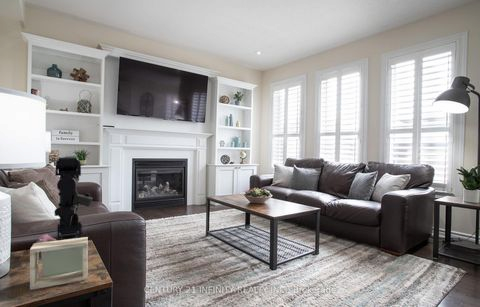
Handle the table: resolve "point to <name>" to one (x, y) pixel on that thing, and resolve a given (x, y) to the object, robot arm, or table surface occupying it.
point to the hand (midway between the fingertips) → (68, 228)
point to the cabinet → (60, 278)
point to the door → (62, 261)
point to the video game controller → (45, 239)
